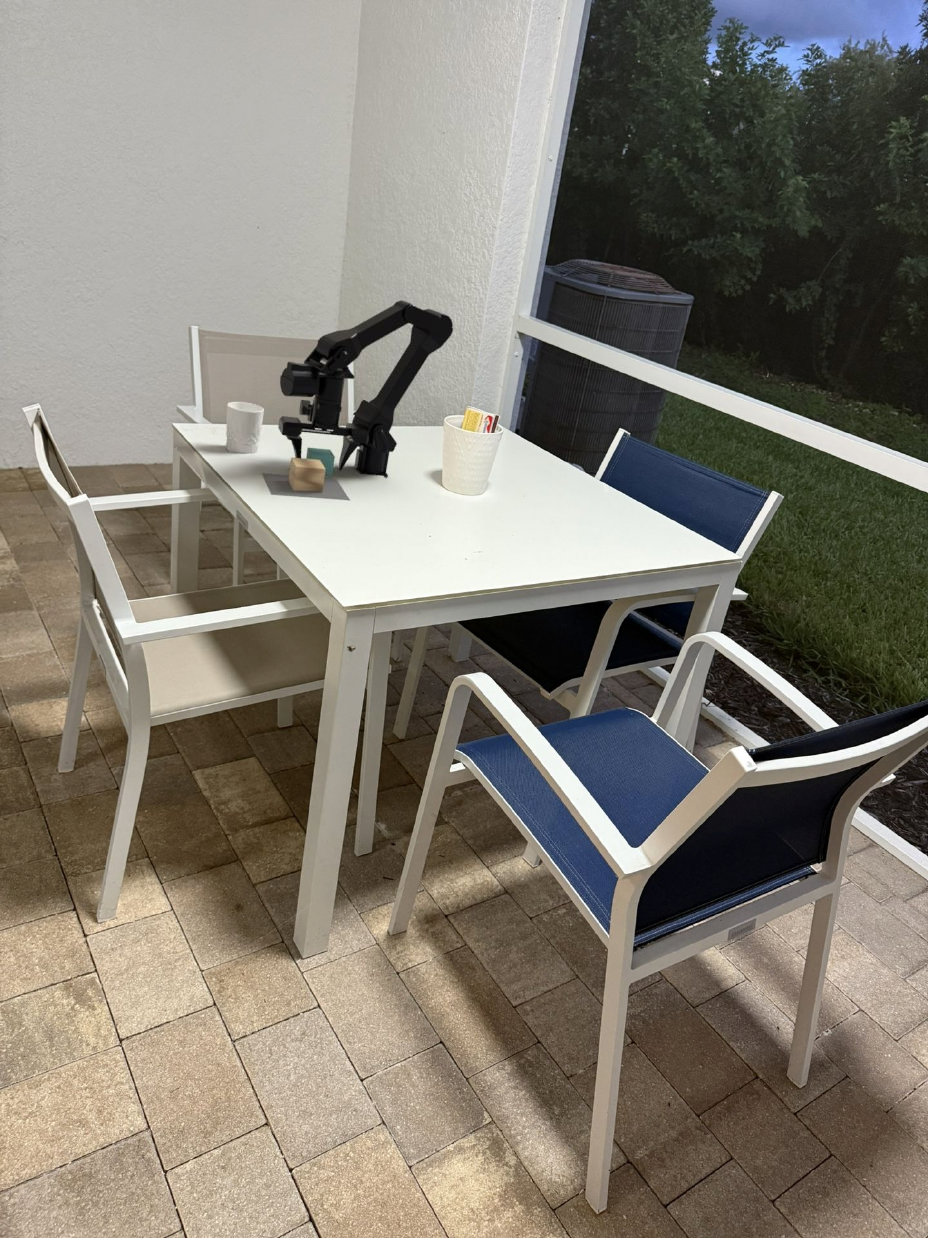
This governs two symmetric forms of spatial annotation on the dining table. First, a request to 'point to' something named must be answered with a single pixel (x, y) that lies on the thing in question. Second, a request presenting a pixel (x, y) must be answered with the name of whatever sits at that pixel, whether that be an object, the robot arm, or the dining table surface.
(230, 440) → the white cup
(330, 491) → the build board
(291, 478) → the oak base block
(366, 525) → the dining table surface
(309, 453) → the teal cube
